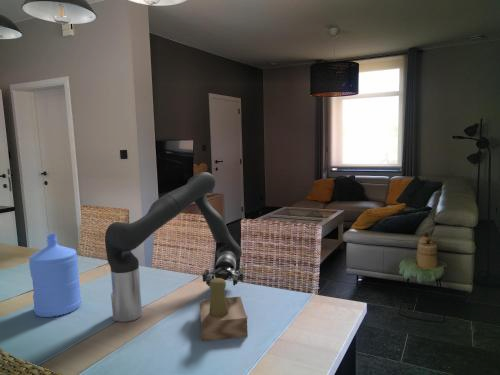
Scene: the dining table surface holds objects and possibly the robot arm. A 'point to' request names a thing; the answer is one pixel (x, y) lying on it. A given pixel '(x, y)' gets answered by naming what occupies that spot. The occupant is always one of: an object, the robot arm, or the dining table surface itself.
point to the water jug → (55, 279)
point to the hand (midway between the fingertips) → (221, 283)
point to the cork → (218, 298)
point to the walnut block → (224, 321)
